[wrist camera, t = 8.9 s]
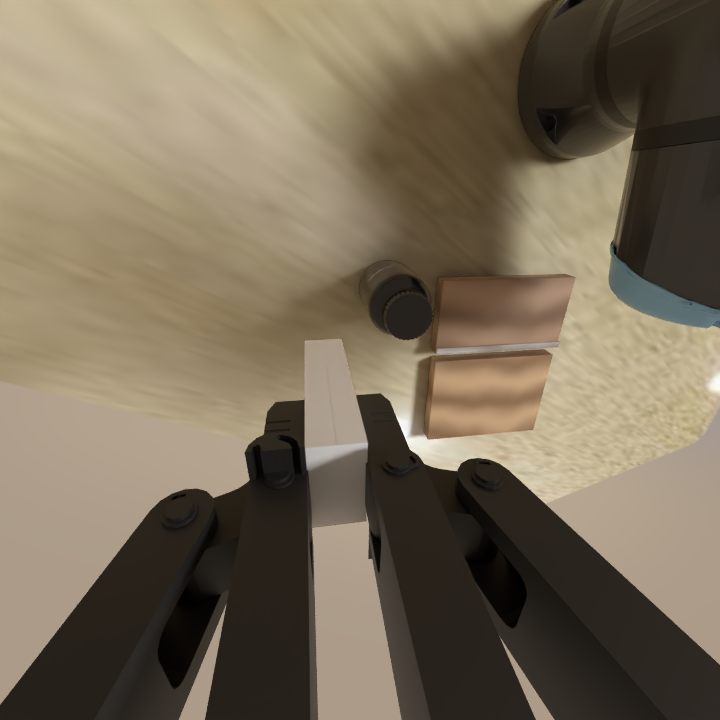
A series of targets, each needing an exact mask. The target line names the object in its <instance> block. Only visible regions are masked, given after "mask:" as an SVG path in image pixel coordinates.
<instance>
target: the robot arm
mask: <svg viewBox="0 0 720 720" xmlns="http://www.w3.org/2000/svg"><path fill="white" fill-rule="evenodd" d="M518 101H519V110H520V115H521V119H522V122H523V125H524V128H525V130H526V132H527V134H528V135H529V137H530V139H531V140H532V141H533V143H534V144H535V145H536V146H537V147H538V148H539V149H541V150H542V151H543V152H545V153H546V154H548V155H551V156H553V157H557V158H562V159H572V158H580V157H587V156H592V155H595V154H598V153H601V152H603V151H605V150H608V149H610V148H611V147H613V146H615V145H616V144H618V143H620V142H622V141H623V140H625V139H627V138H628V137H630V136H632V135H633V134H634V139H633V145H632V150H631V154H630V159H629V165H628V170H627V175H626V180H625V185H624V190H623V195H622V200H621V205H620V210H619V215H618V220H617V225H616V230H615V235H614V239H613V241H612V242H611V245H610V254H611V263H610V271H609V285H610V288H611V290H612V291H613V292H614V294H615V295H616V296H617V298H618V299H619V300H620V301H622V302H623V303H625V304H626V305H628V306H629V307H631V308H633V309H635V310H637V311H639V312H642V313H644V314H647V315H650V316H652V317H655V318H659V319H662V320H665V321H669V322H673V323H677V324H682V325H687V326H693V327H701V328H709V327H711V326H716V327H719V328H720V0H557V1H556V2H555V3H554V4H553V5H552V6H551V7H550V8H549V10H548V11H547V12H546V13H545V15H544V16H543V18H542V19H541V21H540V22H539V24H538V25H537V27H536V29H535V31H534V32H533V35H532V37H531V39H530V41H529V43H528V46H527V48H526V51H525V54H524V57H523V61H522V65H521V70H520V76H519V85H518ZM245 456H246V462H247V468H248V473H249V478H250V480H249V481H248V482H247V483H246V484H245V485H243V486H242V487H240V488H239V489H236V490H234V491H232V492H229V493H227V494H224V495H221V496H218V497H215V498H213V497H212V496H211V495H210V494H209V493H208V492H207V491H204V490H200V489H185V490H182V491H179V492H176V493H173V494H171V495H169V496H168V497H166V498H164V499H163V500H161V501H160V502H159V503H158V504H157V505H156V506H155V507H154V508H153V509H152V510H150V512H149V513H148V514H147V516H146V517H145V518H144V520H143V521H142V522H141V523H140V525H139V526H138V527H137V529H136V530H135V531H134V532H133V534H132V535H131V536H130V538H129V539H128V540H127V542H126V543H125V544H124V546H123V547H122V548H121V549H120V551H119V552H118V553H117V555H116V556H115V557H114V558H113V560H112V561H111V562H110V564H109V565H108V566H107V567H106V569H105V570H104V571H103V573H102V574H101V575H100V576H99V578H98V579H97V580H96V582H95V583H94V584H93V586H92V587H91V588H90V589H89V591H88V592H87V593H86V595H85V596H84V597H83V598H82V600H81V601H80V602H79V604H78V605H77V606H76V608H75V609H74V610H73V612H72V613H71V614H70V615H69V617H68V618H67V619H66V621H65V622H64V623H63V624H62V626H61V627H60V628H59V630H58V631H57V632H56V633H55V635H54V636H53V637H52V639H51V640H50V641H49V643H48V644H47V645H46V646H45V648H44V649H43V650H42V652H41V653H40V654H39V656H38V657H37V658H36V659H35V661H34V662H33V663H32V665H31V666H30V667H29V668H28V670H27V671H26V672H25V674H24V675H23V676H22V678H21V679H20V680H19V681H18V683H17V684H16V685H15V687H14V688H13V689H12V690H11V692H10V693H9V694H8V696H7V697H6V698H5V699H4V701H3V702H2V703H1V705H0V720H179V717H180V715H181V712H182V710H183V708H184V705H185V703H186V700H187V698H188V695H189V693H190V691H191V688H192V686H193V683H194V681H195V678H196V676H197V674H198V671H199V669H200V666H201V664H202V661H203V659H204V656H205V654H206V651H207V649H208V647H209V644H210V642H211V640H212V637H213V635H214V632H215V630H216V627H217V625H218V623H219V620H220V618H221V615H222V613H223V610H224V608H225V605H226V603H227V605H226V610H225V616H224V622H223V626H222V632H221V638H220V643H219V648H218V653H217V658H216V664H215V669H214V674H213V680H212V685H211V691H210V696H209V701H208V706H207V712H206V717H205V720H318V704H317V669H316V633H315V632H316V631H315V597H314V596H315V595H314V560H313V539H312V528H314V527H322V526H331V525H339V524H346V523H355V522H363V521H366V511H367V516H368V522H369V559H373V565H374V570H375V576H376V581H377V587H378V592H379V598H380V603H381V609H382V614H383V619H384V625H385V630H386V636H387V641H388V647H389V652H390V658H391V663H392V669H393V674H394V680H395V685H396V690H397V696H398V702H399V707H400V712H401V718H402V720H536V719H535V717H534V715H533V712H532V710H531V708H530V706H529V703H528V701H527V699H526V696H525V694H524V692H523V690H522V687H521V685H520V683H519V680H518V678H517V676H516V674H515V671H514V669H513V667H512V665H511V662H510V660H509V658H508V655H507V653H506V651H505V648H504V646H503V644H502V641H501V639H502V640H503V642H504V644H505V645H506V647H507V648H508V650H509V651H510V653H511V654H512V656H513V657H514V659H515V660H516V662H517V663H518V665H519V666H520V668H521V669H522V671H523V672H524V674H525V675H526V677H527V678H528V680H529V682H530V683H531V685H532V686H533V688H534V689H535V691H536V692H537V694H538V695H539V697H540V698H541V700H542V701H543V703H544V704H545V706H546V707H547V709H548V710H549V712H550V713H551V715H552V716H553V718H554V719H555V720H720V665H719V664H718V663H717V662H716V661H715V660H714V659H713V658H712V657H711V656H710V655H708V654H707V653H706V652H705V651H704V650H703V649H702V648H701V647H700V646H699V645H697V643H695V642H694V641H693V640H692V639H691V638H690V637H689V636H688V635H687V634H686V633H685V632H683V631H682V630H681V629H680V628H679V627H678V626H677V625H676V624H675V623H674V622H673V621H672V620H670V619H669V618H668V617H667V616H666V615H665V614H664V613H663V612H662V611H661V610H660V609H659V608H657V607H656V606H655V605H654V604H653V603H652V602H651V601H650V600H649V599H648V598H647V597H646V596H644V595H643V594H642V593H641V592H640V591H639V590H638V589H637V588H636V587H635V586H633V584H631V583H630V582H629V581H628V580H627V579H626V578H625V577H624V576H623V575H622V574H620V573H619V572H618V571H617V570H616V569H615V568H614V567H613V566H612V565H611V564H610V563H608V561H606V560H605V559H604V558H603V557H602V556H601V555H600V554H599V553H598V552H597V551H596V550H595V549H593V548H592V547H591V546H590V545H589V544H588V543H587V542H586V541H585V540H584V539H583V538H582V537H580V536H579V535H578V534H577V533H576V532H575V531H574V530H573V529H572V528H571V527H570V526H568V525H567V524H566V523H565V522H564V521H563V520H562V519H561V518H560V517H559V516H558V515H556V514H555V513H554V512H553V511H552V510H551V509H550V508H549V507H548V506H547V505H546V504H545V503H544V502H542V501H541V500H540V499H539V498H538V497H537V496H536V495H535V494H534V493H533V492H532V491H531V490H529V489H528V488H527V487H526V486H525V485H524V484H523V483H522V482H521V481H520V480H519V479H517V478H516V477H515V476H514V475H513V474H512V473H511V472H510V471H509V470H507V469H506V468H505V467H503V466H502V465H500V464H499V463H496V462H494V461H491V460H488V459H481V458H475V459H468V460H467V461H465V462H463V463H461V465H460V467H459V468H458V471H450V470H443V469H438V468H433V467H430V466H428V465H425V464H424V463H423V461H422V460H421V459H420V457H419V456H418V455H417V454H415V453H414V452H412V451H411V450H410V449H409V447H408V445H407V442H406V440H405V437H404V435H403V432H402V430H401V427H400V425H399V423H398V421H397V418H396V415H395V413H394V410H393V408H392V406H391V403H390V401H389V400H388V399H386V398H385V397H384V396H383V395H382V394H367V395H356V394H355V390H354V386H353V382H352V378H351V374H350V370H349V366H348V362H347V358H346V355H345V351H344V347H343V343H342V339H324V340H305V400H299V401H285V402H275V403H274V405H273V406H272V407H271V408H270V409H269V411H268V412H267V418H266V424H265V430H264V435H263V436H260V437H258V438H256V439H255V440H254V441H253V442H252V443H250V444H249V445H248V447H247V449H246V451H245ZM499 636H500V637H499ZM500 638H501V639H500Z"/></svg>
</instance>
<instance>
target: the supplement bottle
mask: <svg viewBox="0 0 720 720" xmlns="http://www.w3.org/2000/svg"><path fill="white" fill-rule="evenodd" d="M360 296H361V299H362V301H363V303H364V305H365V308H366V310H367V312H368V314H369V316H370V318H371V320H372V322H373V323H374V325H375V326H376V327H377V328H378V329H379V330H380V331H382V332H384V333H386V334H388V335H393V336H394V337H396V338H399V339H402V340H410V339H414V338H418V337H419V336H421V335H422V334H423V333H425V332H426V330H428V328H429V326H430V324H431V322H432V317H433V315H432V313H433V311H432V307H431V296H430V292H429V290H428V288H427V286H426V285H425V284H424V283H423V282H422V281H421V280H420V279H419V278H418V277H417V276H415V275H414V274H413V273H412V272H411V271H409V270H408V269H407V268H406V267H404V266H403V265H402V264H400V263H398V262H395V261H391V260H384V261H380V262H377V263H375V264H373V265H372V266H370V267H369V268H368V269H367V270H366V271H365V273H364V274H363V276H362V278H361V281H360Z"/></svg>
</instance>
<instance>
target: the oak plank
mask: <svg viewBox="0 0 720 720" xmlns="http://www.w3.org/2000/svg"><path fill="white" fill-rule="evenodd" d="M551 359H552V354H551V353H549V352H547V351H546V350H544V349H542V350H525V351H508V352H491V353H474V354H457V355H441V356H431V363H430V373H429V383H428V394H427V404H426V414H425V425H424V433H425V435H426V437H427V439H439V438H450V437H461V436H472V435H482V434H493V433H504V432H515V431H526V430H533V428H534V425H535V421H536V417H537V413H538V409H539V405H540V401H541V397H542V394H543V390H544V386H545V382H546V378H547V374H548V370H549V366H550V363H551Z"/></svg>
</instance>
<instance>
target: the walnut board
mask: <svg viewBox="0 0 720 720" xmlns="http://www.w3.org/2000/svg"><path fill="white" fill-rule="evenodd" d="M575 278H576V277H573V276H570V275H566V274H551V275H514V276H478V277H441V278H438V283H437V293H436V302H435V312H434V321H433V331H432V340H431V348H432V349H433V351H434V352H435V353H436V354H450V353H467V352H484V351H502V350H519V349H536V348H553V347H558V346H559V341H558V338H559V334H560V331H561V327H562V324H563V320H564V317H565V313H566V309H567V306H568V302H569V299H570V295H571V292H572V288H573V285H574V281H575Z"/></svg>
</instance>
